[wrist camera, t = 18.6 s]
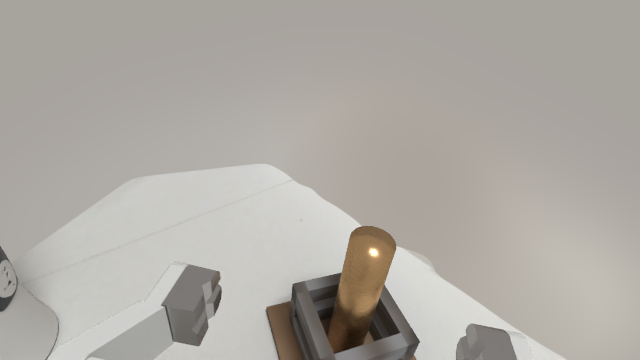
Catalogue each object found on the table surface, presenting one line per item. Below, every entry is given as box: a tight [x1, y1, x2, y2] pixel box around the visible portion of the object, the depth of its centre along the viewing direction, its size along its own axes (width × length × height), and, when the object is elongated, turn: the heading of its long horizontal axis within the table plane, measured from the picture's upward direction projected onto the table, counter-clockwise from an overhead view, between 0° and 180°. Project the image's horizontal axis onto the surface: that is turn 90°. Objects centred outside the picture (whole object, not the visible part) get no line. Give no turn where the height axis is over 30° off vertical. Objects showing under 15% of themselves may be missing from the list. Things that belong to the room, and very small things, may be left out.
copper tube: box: [327, 226, 396, 354], centre depth 37 cm, size 4×4×18 cm
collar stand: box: [267, 273, 420, 360], centre depth 41 cm, size 16×16×8 cm
